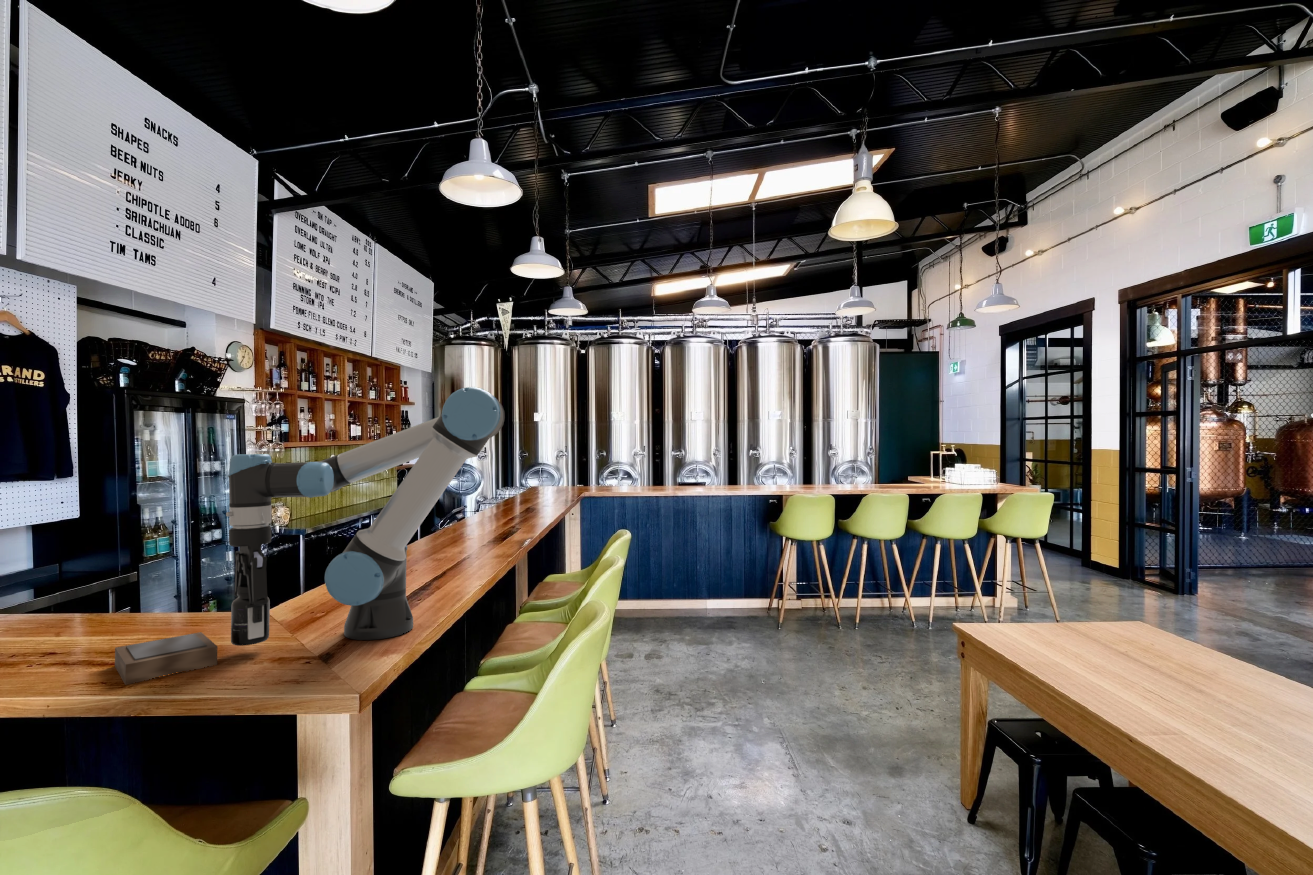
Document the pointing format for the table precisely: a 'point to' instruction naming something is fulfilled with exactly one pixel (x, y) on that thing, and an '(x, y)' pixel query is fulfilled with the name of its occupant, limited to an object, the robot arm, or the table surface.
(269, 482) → the robot arm
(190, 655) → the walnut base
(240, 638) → the supplement bottle
